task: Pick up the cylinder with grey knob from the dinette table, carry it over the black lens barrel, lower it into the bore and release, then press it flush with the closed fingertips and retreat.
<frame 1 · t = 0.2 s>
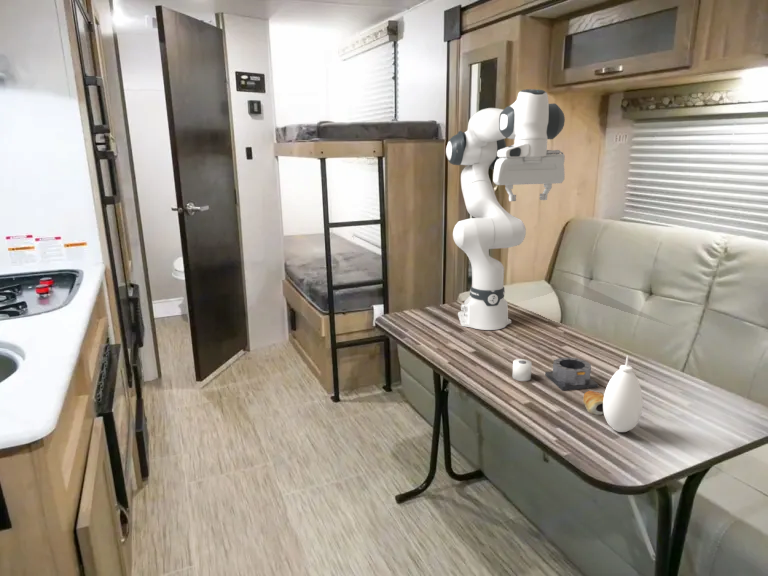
hand: (527, 200, 148), 47 cm above the table, fingers open, 8 cm apart
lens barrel: (570, 381, 142), on the table
pastry: (596, 408, 127), on the table
white air blower bulb: (619, 431, 117), on the table
cylinder with grey knob: (521, 377, 145), on the table
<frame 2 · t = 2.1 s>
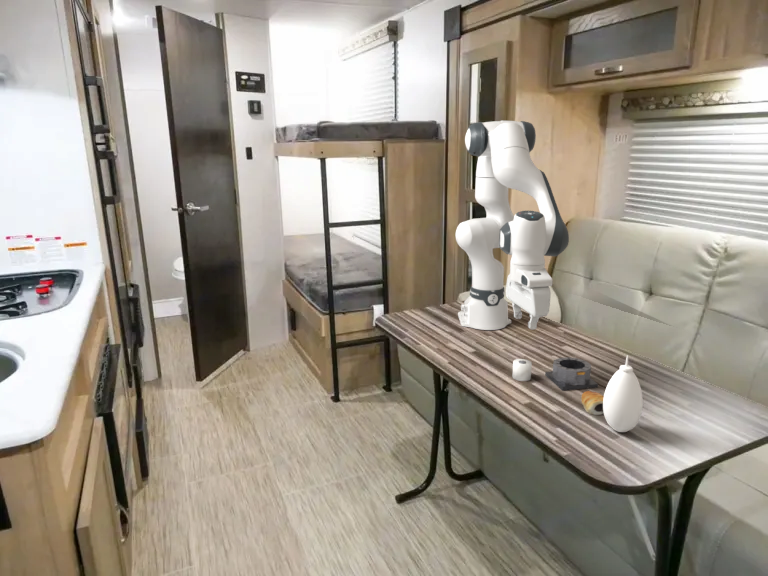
hand: (524, 323, 141), 16 cm above the table, fingers open, 8 cm apart
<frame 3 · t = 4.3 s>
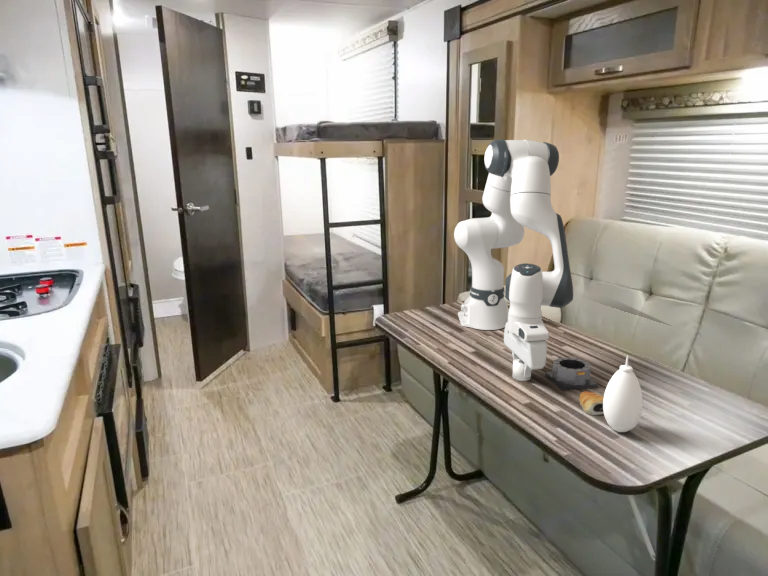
hand: (521, 371, 144), 2 cm above the table, fingers closed on cylinder with grey knob, 5 cm apart
cylinder with grey knob: (521, 377, 145), on the table, touching gripper
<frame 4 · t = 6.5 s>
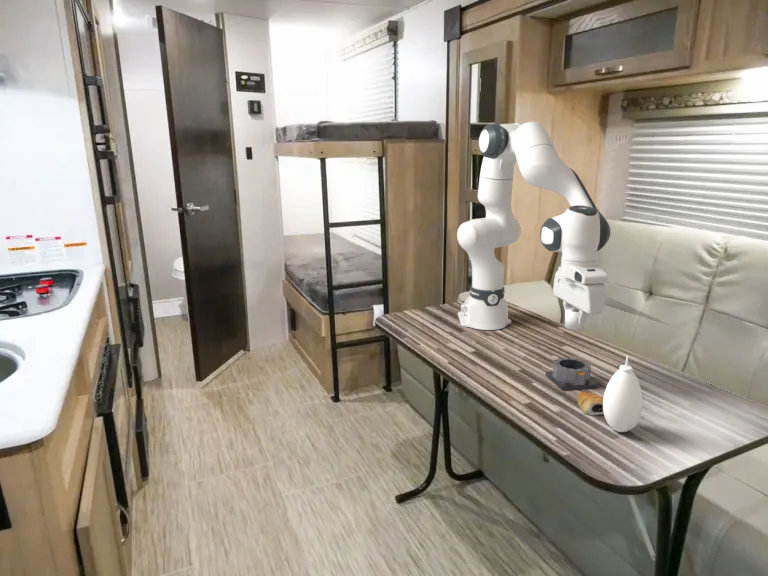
hand: (574, 320, 137), 17 cm above the table, fingers closed on cylinder with grey knob, 5 cm apart
cylinder with grey knob: (574, 327, 138), point 16 cm above the table, touching gripper
when the fingers open (6 cm above the table, at t = 8.7 s): cylinder with grey knob drops 3 cm, resting on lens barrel.
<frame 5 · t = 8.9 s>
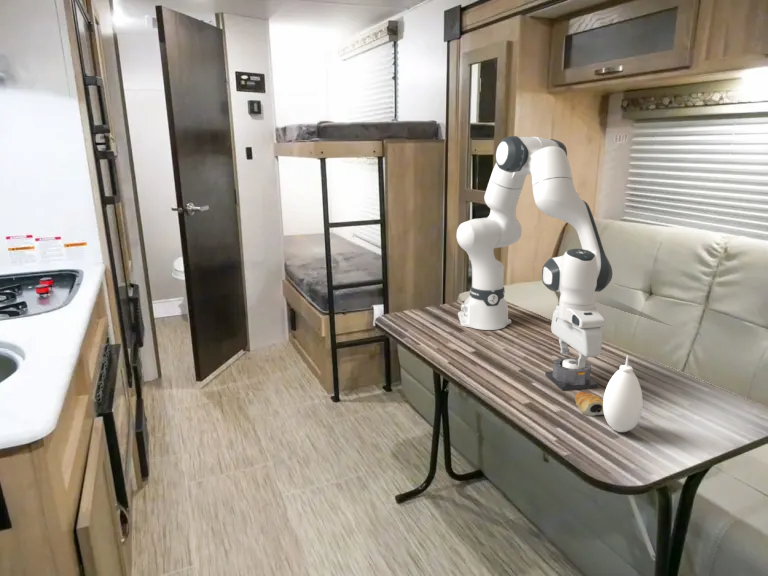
hand: (572, 360, 140), 6 cm above the table, fingers open, 7 cm apart
cylinder with grey knob: (571, 377, 141), point 1 cm above the table, touching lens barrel
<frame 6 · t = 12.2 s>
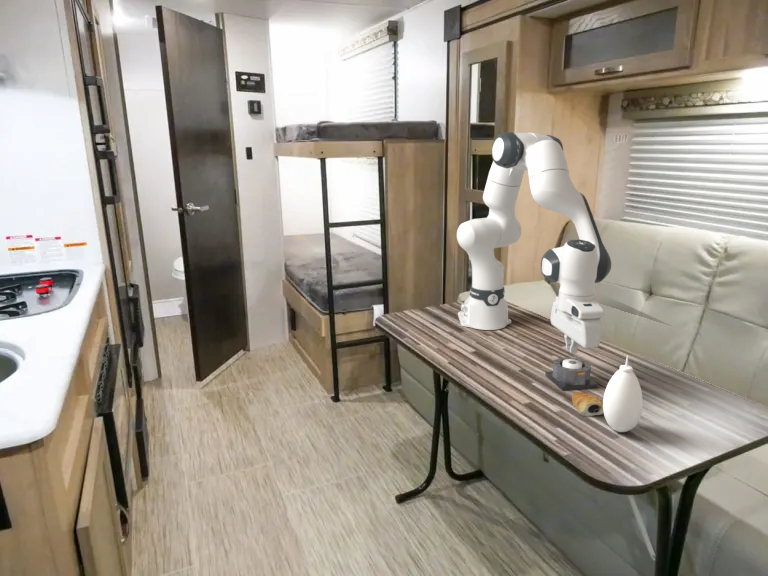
hand: (571, 351, 140), 8 cm above the table, fingers closed
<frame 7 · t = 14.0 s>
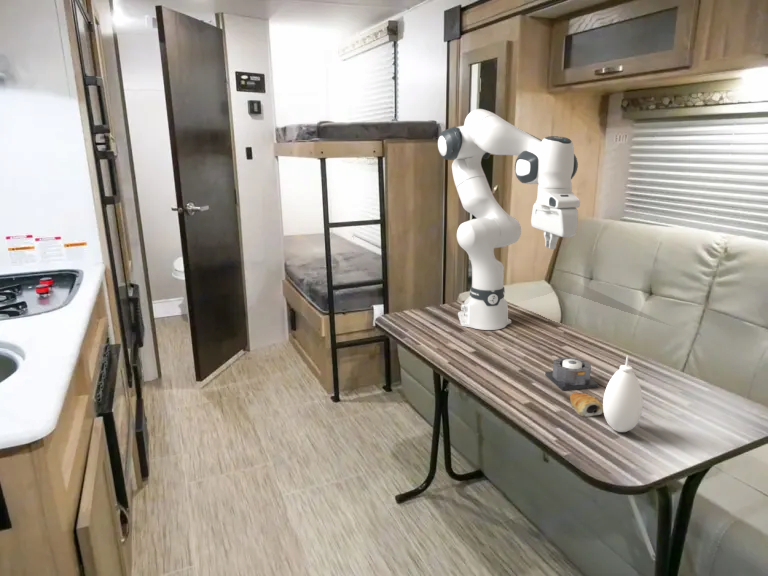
hand: (550, 248, 145), 35 cm above the table, fingers closed
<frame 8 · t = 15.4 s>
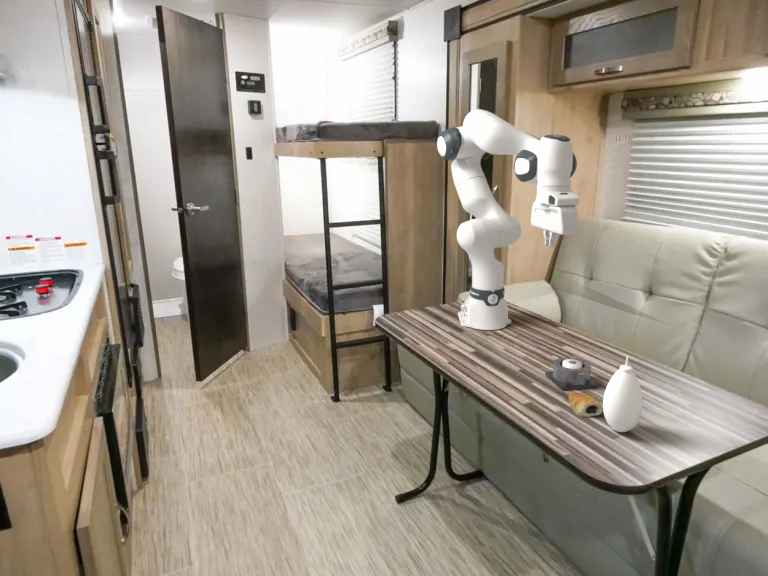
hand: (550, 246, 145), 35 cm above the table, fingers closed
at the end: cylinder with grey knob 0.1 cm off-centre on the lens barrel, point 1.0 cm above the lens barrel's base; cylinder with grey knob tilted 0°; the gripper is holding nothing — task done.
